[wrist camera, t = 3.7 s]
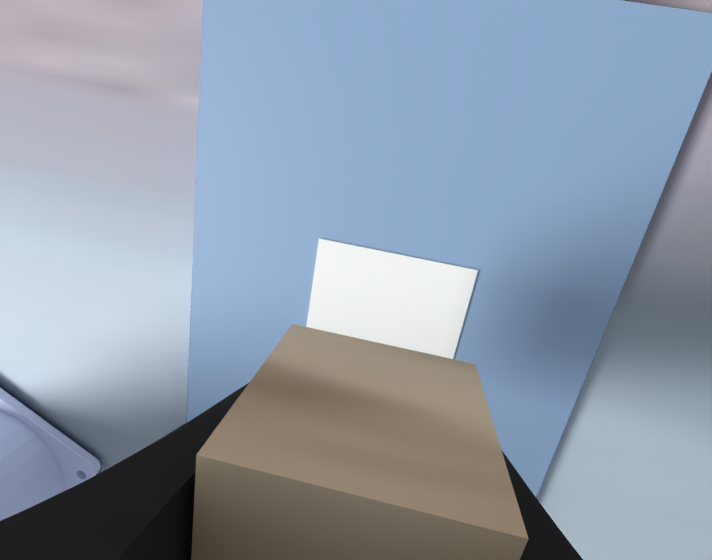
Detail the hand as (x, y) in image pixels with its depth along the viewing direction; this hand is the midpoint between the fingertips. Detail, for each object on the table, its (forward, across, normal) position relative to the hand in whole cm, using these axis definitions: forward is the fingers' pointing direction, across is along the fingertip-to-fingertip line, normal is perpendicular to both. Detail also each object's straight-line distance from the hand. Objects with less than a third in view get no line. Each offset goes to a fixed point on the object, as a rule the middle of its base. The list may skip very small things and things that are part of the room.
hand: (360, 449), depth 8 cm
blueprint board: (+7, 0, 0) cm, 7 cm away
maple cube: (+1, 0, 0) cm, 1 cm away
